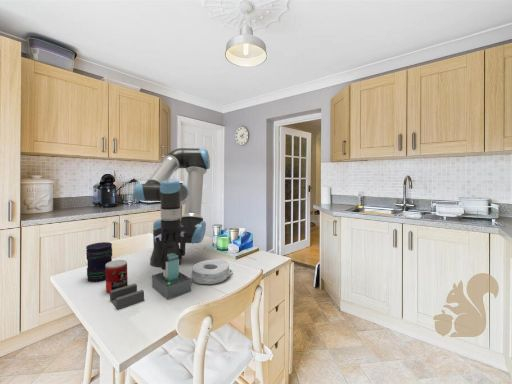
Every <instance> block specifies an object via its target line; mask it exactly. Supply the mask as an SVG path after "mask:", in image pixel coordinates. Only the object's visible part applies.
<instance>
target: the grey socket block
mask: <svg viewBox="0 0 512 384" xmlns="http://www.w3.org/2000/svg"><path fill="white" fill-rule="evenodd" d="M151 283H152V284H151V287H152V288H153V290H155V291H156V292H157V293H159V294H160V295H161V296H162V297H164V298H165V299H166V300H171V299H174V298H176V297H178V296H182V295H184V294H186V293H188V292H192V278H191V277H188V276H187V275H185V274H184V273H182V272H180V271H179V274H178V278H177V279H174V280H171V281H167V280H165V277H164V276H163V272H159V273H157V274H152V276H151Z"/></svg>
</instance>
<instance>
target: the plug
mask: <svg viewBox="0 0 512 384" xmlns="http://www.w3.org/2000/svg"><path fill="white" fill-rule="evenodd" d="M166 261H168V278H166V277H165V280H167V281H171V280H174V279H177V278H178V255H177V254H175V253H171V254H167V259H166Z"/></svg>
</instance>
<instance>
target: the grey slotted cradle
mask: <svg viewBox="0 0 512 384" xmlns="http://www.w3.org/2000/svg"><path fill="white" fill-rule="evenodd" d="M109 300H110V302H111V303H112V304H113V306H114V307H115V309H116V310H118V311H119V310H122V309H123V308H126V307H130V306H132V305H135V304H138V303H141V302H144V301H145V291H144V290H143V289H140V290H138V285H137V284H136V283H133V284H129V285H128V286H125V287H122V288H118V289H115V290H112V291H110V293H109Z"/></svg>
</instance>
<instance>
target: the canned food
mask: <svg viewBox="0 0 512 384" xmlns="http://www.w3.org/2000/svg"><path fill="white" fill-rule="evenodd" d="M105 273H106V280H105V290H106V292H107V293H108V294H110V291H112V290H115V289H118V288H122V287H125V286H128V282H129V281H128V262H127V260H124V259H116V260H112V261H110V262H108V263H106V265H105Z"/></svg>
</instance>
